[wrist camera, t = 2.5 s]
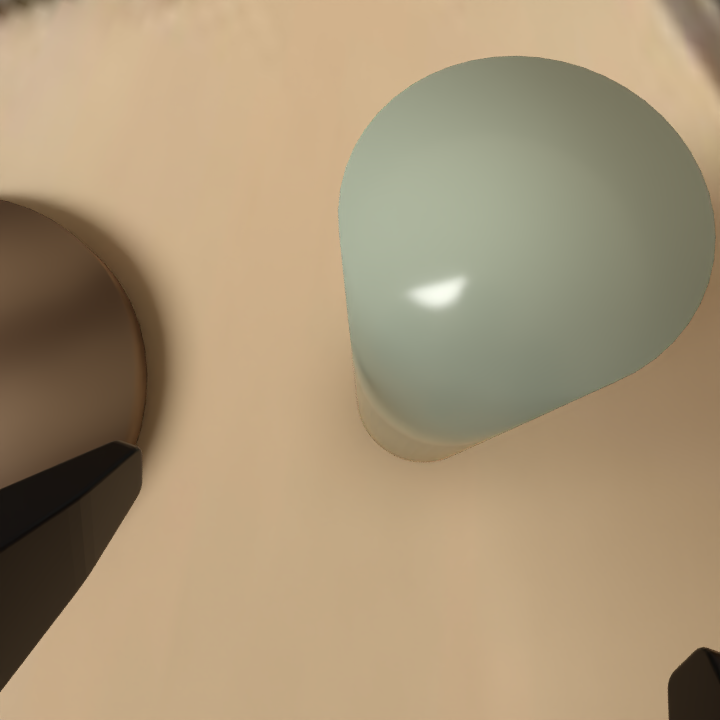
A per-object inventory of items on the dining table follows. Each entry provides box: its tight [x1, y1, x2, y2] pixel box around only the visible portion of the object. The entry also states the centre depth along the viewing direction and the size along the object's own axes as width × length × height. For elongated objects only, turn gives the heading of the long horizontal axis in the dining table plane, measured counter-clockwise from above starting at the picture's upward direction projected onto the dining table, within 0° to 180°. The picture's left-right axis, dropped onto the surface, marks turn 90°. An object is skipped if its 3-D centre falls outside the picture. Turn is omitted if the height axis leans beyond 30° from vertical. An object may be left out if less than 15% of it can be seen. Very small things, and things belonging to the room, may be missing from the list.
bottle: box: [338, 56, 716, 462], centre depth 14 cm, size 5×5×14 cm
